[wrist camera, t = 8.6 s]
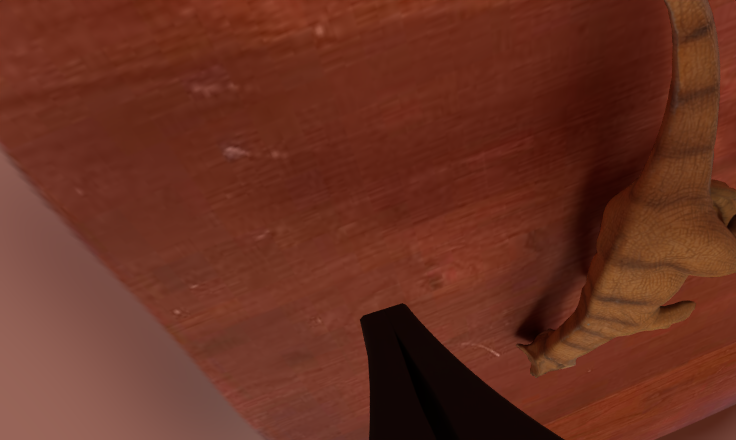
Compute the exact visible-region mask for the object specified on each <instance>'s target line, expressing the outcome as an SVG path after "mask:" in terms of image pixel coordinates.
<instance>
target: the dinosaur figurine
mask: <svg viewBox="0 0 736 440" xmlns="http://www.w3.org/2000/svg"><path fill="white" fill-rule="evenodd" d="M664 2H665V5H666V7H667V9H668V14H669V18H670V23H671V28H672V43H673V53H672V79H671V84H670V89H669V95H668V101H667V105H666V109H665V113H664V117H663V121H662V125H661V127H660V130H659V133H658V135H657V138H656V141H655V144H654V147H653V149H652V152H651V154H650V157H649V159H648V161H647V162H646V164H645V166H644V169H643V171H642V173H641V174H640V176H639V177H638V178H637V179H636V180H635V182H634V183H633V184H631V185H630V186H628V187H627V188H625V189H623V190H622V191H621V192H620V193H619V194H617V195H615V196H614V197H613V198H612V199H611V200H610V201H609V202H608V204H607V205H606V207H605V210H604V213H603V219H602V222H601V230H600V233H599V235H598V238H597V242H596V246H597V253H596V254H595V256H594V257H593V259H592V261H591V264H590V267H589V270H588V274H587V282H586V284H585V286H584V287H583V288H582V292H581V297H580V301H579V304H578V306H577V308H576V310H575V312H574V313H573V314H572V315H571V316H570V317H569V318H568V319H567V320H566V321H565V322H564V323H563V324H562V325H561V326H560V327H559V328H558V329H557V330H552V329H547V330H545V331H544V332H542V333H540V334H539V335H537V336H536V338H535V339H534V341H533V342H532V343H531V344H528V345H523V344H517V345H516V346H517V347H518V348H519V349H521V350H522V351H523V352H524V353H525V354H526V355H527V357H528V359H529V361H530V362H531V368H530V374H531V375H533V376H535V377H536V378H537V377H538V376H540V375H543V374H545V373H547V372H549V371H554V370H559V369H563V368H568V367H571V366H574V365H575V364H576V359H577V357H580V356H582V355H584V354H586V353H588V352H590V351H592V350H594V349H595V348H597V347H598V346H600V345H602V344H604V343H606V342H608V341H610V340H611V339H613V338H615V337H617V336H625V335H631V334H634V333H637V332H641V331H647V330H656V329H660V328H662V329H666V328H669V327H670V326H671V324H673V323H677V322H680V321H683V320H685V319H686V318H688V317H689V316H690V314H691V312H692V311H693V310H694V309H695V306H696V303H695V302H693V301H681V302H677V303H675V304H672V305H667V306H661V305H663V304H664V303H666V302H667V301H668V300H669V299H670V298H671V297H672V296H674V295H675V294H676V293H677V292H678V290H679V289H680V287H681V286H682V284H683V283H684V281H685V279H686V278H687V276H688V275H694V276H700V277H721V276H725V275H728V274H732V273H736V190H735V189H734V188H729V186H728V185H727V184H726V183H724V182H721V181H718V180H712V179H711V172H712V165H713V158H714V151H713V149H714V145H715V139H716V131H717V122H718V110H719V99H720V60H719V48H718V40H717V32H716V27H715V23H714V18H713V14H712V11H711V8H710V5H709V2H708V0H664Z"/></svg>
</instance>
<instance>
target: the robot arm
mask: <svg viewBox="0 0 736 440" xmlns="http://www.w3.org/2000/svg"><path fill="white" fill-rule="evenodd" d="M360 322H361V327H362V331H363V336H364V341H365V346H366V350H367V355H368V364H369V381H370V431H369V440H564V439H563V438H561V437H560V436H558V435H556V434H555V433H553V432H552V431H550V430H549V429H547V428H546V427H544V426H542V425H541V424H540V423H538V422H537V421H535V420H534V419H532V418H531V417H530V416H528V415H527V414H525V413H524V412H523V411H521V410H520V409H518V408H517V407H516V406H514V405H513V404H512V403H510V402H509V401H508V400H506V399H505V398H504V397H502V396H501V395H500V394H498V393H497V392H496V391H495V390H493V389H492V388H491V387H490V386H488V385H487V384H486V383H485V382H483V381H482V380H481V379H480V378H479V377H478V376H476V375H475V374H474V373H473V372H472V371H471V370H469V369H468V368H467V367H466V366H465V365H464V364H463V363H461V362H460V361H459V360H458V359H457V358H456V357H455V356H454V355H453V354H452V353H451V352H450V351H449V350H448V349H447V348H445V347H444V346H443V345H442V344H441V343H440V342H439V341H438V340H437V339H436V338H435V337H434V336H433V335H432V334H431V333H430V332H429V330H428V329H427V328H426V327H425V326H424V325H423V324H422V323H421V322H420V321H419V320H418V319H417V317H416V316H415V315H414V314H413V313H412V312H411V310H410V309H409V308H408V307H407V305H405V304H403V303H402V304H399V305H395V306H392V307H389V308H386V309H383V310H380V311H377V312H373V313H370V314H367V315H364V316H363V317H362V318H361V319H360Z"/></svg>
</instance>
